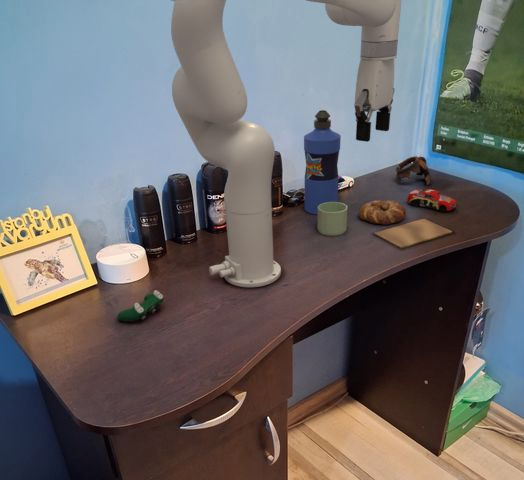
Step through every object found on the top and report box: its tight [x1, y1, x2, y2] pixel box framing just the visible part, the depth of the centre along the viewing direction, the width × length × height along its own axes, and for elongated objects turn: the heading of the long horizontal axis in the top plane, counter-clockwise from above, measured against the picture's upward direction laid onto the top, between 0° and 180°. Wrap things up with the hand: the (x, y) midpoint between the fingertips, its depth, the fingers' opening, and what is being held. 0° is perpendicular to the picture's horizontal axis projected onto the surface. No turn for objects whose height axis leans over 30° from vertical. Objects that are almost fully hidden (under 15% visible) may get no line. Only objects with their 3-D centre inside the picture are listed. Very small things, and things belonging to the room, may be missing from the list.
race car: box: [406, 188, 457, 213], centre depth 146 cm, size 13×5×4 cm, turn 50°
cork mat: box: [373, 218, 453, 249], centre depth 133 cm, size 16×10×1 cm, turn 119°
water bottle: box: [303, 109, 342, 215], centre depth 142 cm, size 9×9×25 cm
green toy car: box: [117, 289, 165, 322], centre depth 107 cm, size 9×4×6 cm
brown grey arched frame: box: [395, 155, 431, 186], centre depth 162 cm, size 12×10×8 cm
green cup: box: [316, 201, 349, 237], centre depth 135 cm, size 7×7×6 cm
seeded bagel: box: [358, 199, 407, 226], centre depth 141 cm, size 12×11×4 cm
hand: (372, 135), depth 123 cm, fingers open, 9 cm apart
